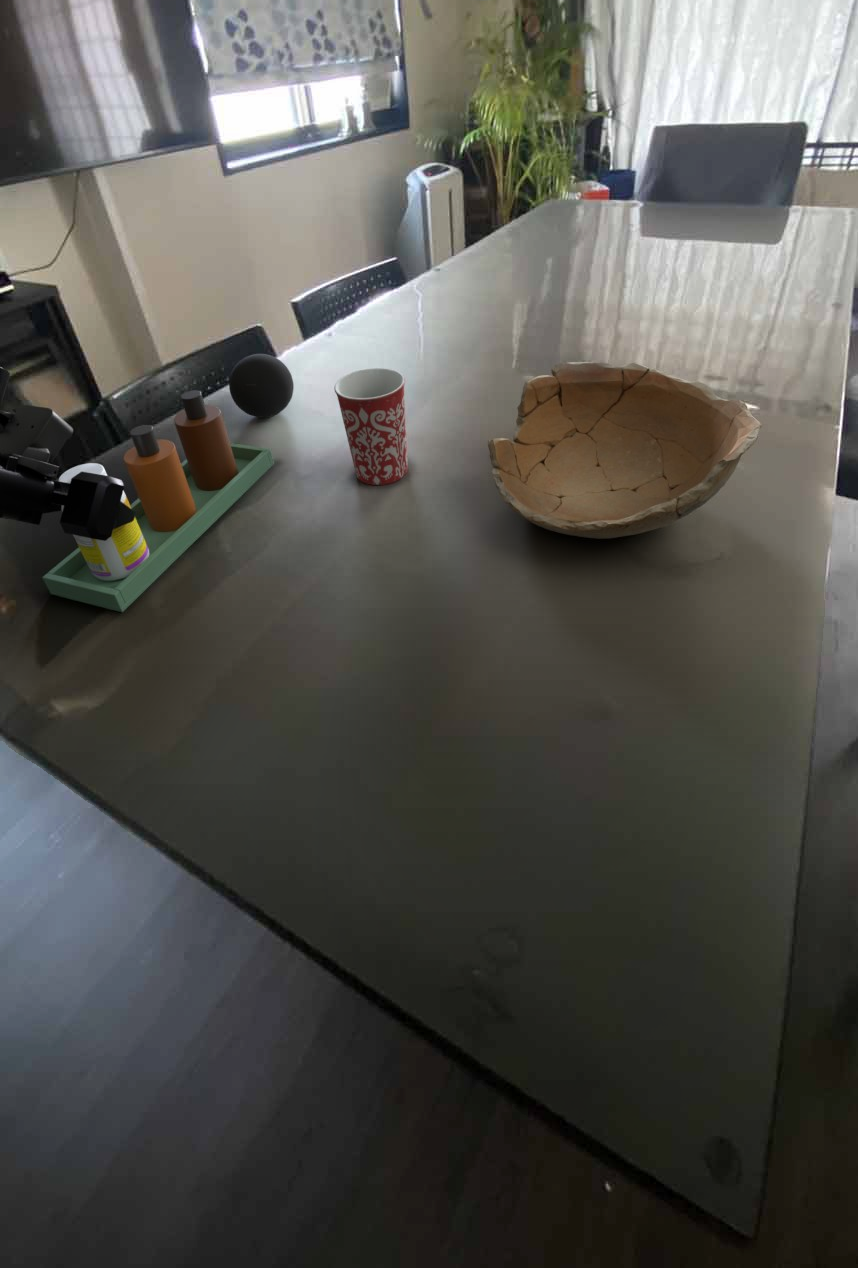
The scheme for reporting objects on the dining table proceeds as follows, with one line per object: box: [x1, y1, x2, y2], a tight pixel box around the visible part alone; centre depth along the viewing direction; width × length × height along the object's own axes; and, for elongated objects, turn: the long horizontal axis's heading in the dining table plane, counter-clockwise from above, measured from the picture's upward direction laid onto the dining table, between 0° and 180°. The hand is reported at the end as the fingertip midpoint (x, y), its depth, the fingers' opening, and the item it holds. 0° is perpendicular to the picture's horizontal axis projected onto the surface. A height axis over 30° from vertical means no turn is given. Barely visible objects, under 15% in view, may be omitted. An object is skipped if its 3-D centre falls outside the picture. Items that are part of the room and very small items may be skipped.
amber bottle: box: [123, 424, 197, 532], centre depth 84 cm, size 6×6×13 cm
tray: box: [42, 442, 275, 613], centre depth 88 cm, size 32×11×3 cm, turn 159°
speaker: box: [228, 353, 295, 418], centre depth 109 cm, size 10×10×10 cm
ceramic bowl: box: [487, 361, 763, 540], centre depth 82 cm, size 30×27×15 cm
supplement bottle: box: [58, 462, 149, 581], centre depth 77 cm, size 7×7×13 cm
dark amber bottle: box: [173, 389, 238, 491], centre depth 91 cm, size 6×6×13 cm
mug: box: [333, 367, 409, 486], centre depth 92 cm, size 13×9×14 cm
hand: (101, 510), depth 77 cm, fingers open, 9 cm apart
